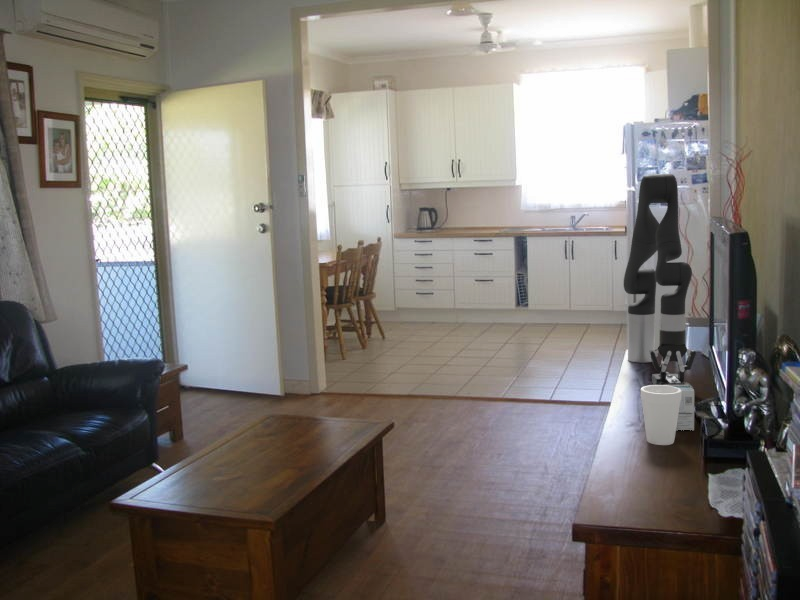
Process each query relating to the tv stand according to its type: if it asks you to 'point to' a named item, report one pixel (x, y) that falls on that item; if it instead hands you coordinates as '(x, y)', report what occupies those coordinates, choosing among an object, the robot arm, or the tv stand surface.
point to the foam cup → (660, 412)
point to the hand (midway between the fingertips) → (671, 383)
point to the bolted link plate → (672, 380)
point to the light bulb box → (685, 408)
